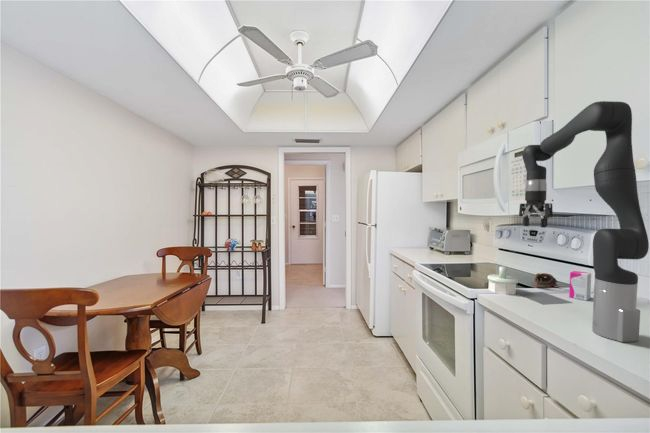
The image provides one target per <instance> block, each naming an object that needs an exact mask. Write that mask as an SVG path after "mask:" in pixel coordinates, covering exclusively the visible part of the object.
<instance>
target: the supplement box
mask: <svg viewBox="0 0 650 433" xmlns="http://www.w3.org/2000/svg"><path fill="white" fill-rule="evenodd" d="M591 282H592V273H591V272H585V271H577V270H573V271H570V272H569V292H568V293H569V296H568V297H569V299H570V298H571V299H575V300H580V301H584V302H587V301H589V300H591V288H592V284H591Z"/></svg>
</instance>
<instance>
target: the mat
mask: <svg viewBox="0 0 650 433" xmlns="http://www.w3.org/2000/svg"><path fill="white" fill-rule="evenodd" d="M514 295H517V296H519V297H523V298H524V299H525V298H526V299H527V300H530V301H533V302H534V303H535V302H536V303H538V304H541V305H543V306H544V305H560V304H561V305H563V304H573V303H574V302H572V301H569V300H566V299H563V298H561V297H558V296H555V295H553V294H549V293H546V292H543V291H534V292H531V291H530V292H516V293H515V294H514Z"/></svg>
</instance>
